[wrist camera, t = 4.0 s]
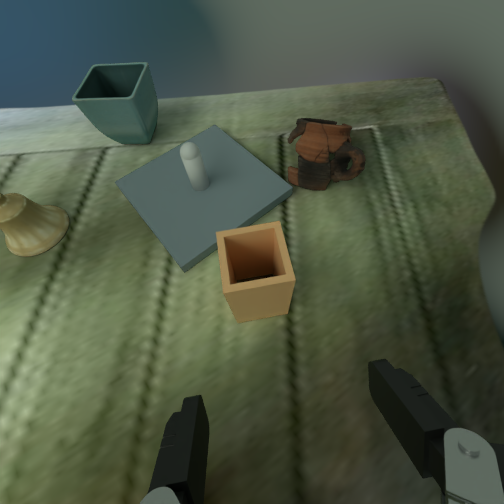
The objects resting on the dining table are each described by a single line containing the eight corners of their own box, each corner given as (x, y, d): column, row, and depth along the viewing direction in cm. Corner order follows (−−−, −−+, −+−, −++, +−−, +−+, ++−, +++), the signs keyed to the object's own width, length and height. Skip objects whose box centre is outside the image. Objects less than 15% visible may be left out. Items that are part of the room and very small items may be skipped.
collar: (287, 313, 29) (295, 280, 20) (237, 323, 29) (223, 293, 20) (276, 268, 31) (279, 220, 23) (230, 276, 31) (215, 232, 22)
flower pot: (106, 153, 43) (69, 99, 35) (122, 118, 47) (92, 63, 39) (157, 153, 42) (131, 98, 34) (169, 117, 46) (148, 61, 38)
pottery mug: (268, 177, 39) (276, 115, 35) (306, 170, 45) (317, 116, 40) (338, 205, 32) (360, 133, 28) (372, 192, 38) (395, 131, 34)
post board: (184, 272, 32) (159, 238, 25) (119, 189, 39) (85, 143, 32) (291, 194, 37) (297, 146, 29) (216, 132, 44) (206, 81, 36)
